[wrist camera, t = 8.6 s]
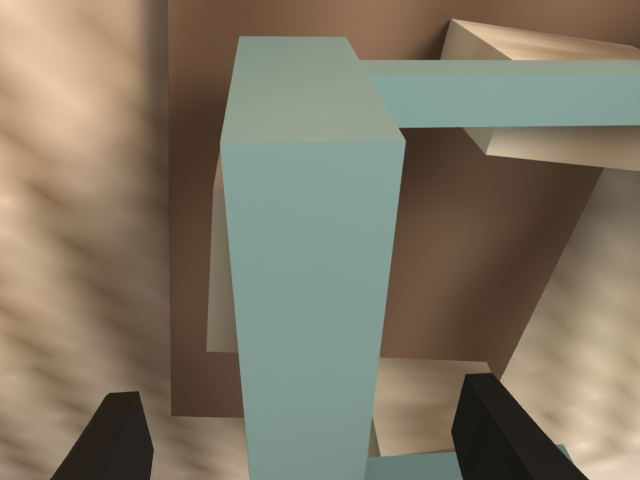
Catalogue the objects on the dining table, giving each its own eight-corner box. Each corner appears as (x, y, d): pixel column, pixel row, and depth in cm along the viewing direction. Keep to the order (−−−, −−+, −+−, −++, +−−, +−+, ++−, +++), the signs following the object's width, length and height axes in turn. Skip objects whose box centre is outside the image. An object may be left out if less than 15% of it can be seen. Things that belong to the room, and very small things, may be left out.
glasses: (676, 38, 12) (951, 133, 7) (531, 415, 20) (618, 585, 15) (236, 36, 12) (215, 142, 7) (261, 431, 19) (260, 618, 14)
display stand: (663, -32, 15) (855, 3, 10) (468, 397, 26) (517, 518, 21) (175, -119, 13) (121, -127, 8) (176, 388, 23) (152, 521, 18)
